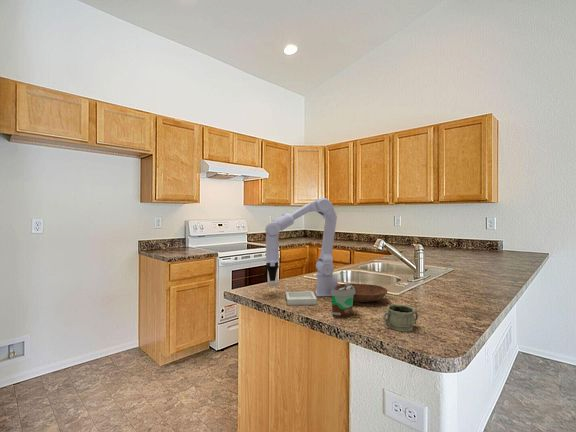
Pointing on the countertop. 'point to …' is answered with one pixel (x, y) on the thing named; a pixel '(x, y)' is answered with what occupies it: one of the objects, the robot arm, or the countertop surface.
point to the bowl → (366, 292)
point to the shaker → (272, 283)
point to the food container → (342, 301)
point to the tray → (301, 298)
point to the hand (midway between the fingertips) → (272, 279)
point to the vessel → (400, 317)
